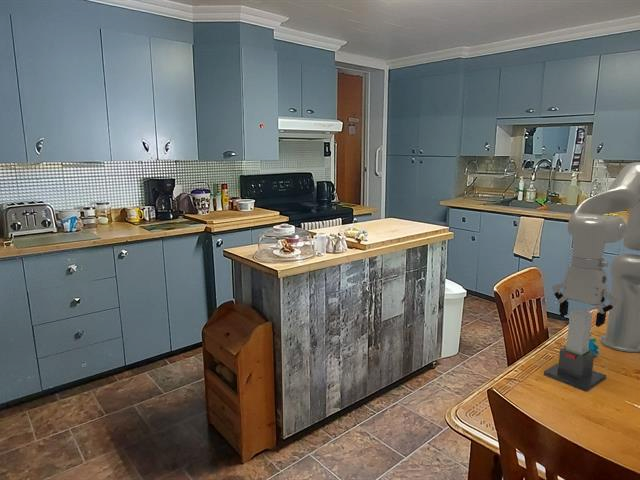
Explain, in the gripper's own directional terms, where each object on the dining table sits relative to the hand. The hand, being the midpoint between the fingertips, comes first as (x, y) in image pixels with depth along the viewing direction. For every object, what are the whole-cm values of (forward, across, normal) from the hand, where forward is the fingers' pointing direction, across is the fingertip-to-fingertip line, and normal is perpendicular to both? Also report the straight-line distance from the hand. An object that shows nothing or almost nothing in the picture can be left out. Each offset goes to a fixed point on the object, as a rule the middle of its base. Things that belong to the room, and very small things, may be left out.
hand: (581, 320), depth 127 cm
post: (+12, 0, +1) cm, 12 cm away
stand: (+17, 0, +1) cm, 17 cm away
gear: (+18, +6, -19) cm, 27 cm away
